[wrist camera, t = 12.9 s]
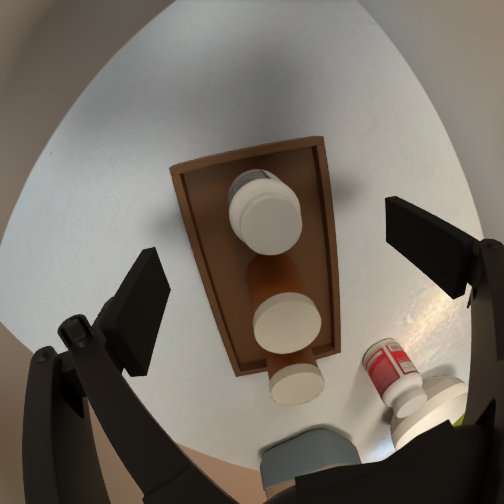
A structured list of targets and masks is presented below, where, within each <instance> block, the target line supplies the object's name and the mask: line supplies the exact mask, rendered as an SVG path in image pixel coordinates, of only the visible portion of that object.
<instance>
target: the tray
mask: <svg viewBox="0 0 504 504" xmlns="http://www.w3.org/2000/svg"><path fill="white" fill-rule="evenodd" d="M169 169H170V173H171V176H172V181H173V184H174V188H175V192H176V195H177V199H178V203H179V206H180V210H181V213H182V217H183V220H184V224H185V227H186V231H187V234H188V237H189V241H190V244H191V247H192V251H193V254H194V257H195V260H196V264H197V267H198V270H199V273H200V276H201V279H202V282H203V286H204V289H205V292H206V295H207V298H208V301H209V304H210V307H211V309H212V312H213V315H214V318H215V321H216V324H217V327H218V330H219V332H220V335H221V338H222V341H223V343H224V346H225V349H226V352H227V354H228V357H229V360H230V362H231V365H232V368H233V370H234V373H235V376H236V377H237V376H243V375H249V374H254V373H259V372H264V371H268V370H267V365H266V359H265V353H264V348H262V347H261V346H260V345H259V344H258V342H257V341H256V338H255V335H254V328H253V313H252V306H251V300H250V293H249V286H248V279H247V270H248V267H249V265H250V263H251V262H252V261H253V259H254V258H256V257H257V256H258V255H260V254H259V253H257V252H255V251H254V250H252V249H251V248H250V247H249V246H248V245H247V244H246V243H245V242H243V241H242V240H241V239H240V238H239V237H238V236H237V235H236V234H235V232H234V231H233V229H232V227H231V224H230V219H229V206H228V193H229V189H230V186H231V184H232V183H233V181H234V180H235V179H236V178H237V177H238V176H239V175H240V174H242V173H244V172H246V171H248V170H253V169H260V170H265V171H268V172H270V173H272V174H274V175H275V176H276V177H278V178H279V179H280V180H281V181H282V182H283V183H284V184H286V185H287V186H288V187H289V188H290V189H291V190H292V191H293V192H294V193H295V195H296V197H297V198H298V201H299V204H300V210H301V218H302V231H301V234H300V237H299V239H298V240H297V242H296V243H295V244H294V245H293V246H292V247H291V248H290V249H289V250H287V251H285V252H283V254H285V255H287V256H288V257H289V258H290V259H291V260H292V262H293V264H294V266H295V268H296V270H297V272H298V274H299V276H300V278H301V280H302V282H303V284H304V286H305V288H306V290H307V292H308V294H309V296H310V298H311V300H312V301H313V303H314V304H315V306H316V308H317V310H318V312H319V314H320V317H321V328H320V331H319V333H318V335H317V337H316V338H315V339H314V340H313V341H312V342H311V343H310V347H311V349H312V352H313V355H314V357H315V360H316V359H319V358H323V357H327V356H330V355H334V354H337V353H340V352H341V324H340V291H339V272H338V256H337V243H336V232H335V221H334V211H333V202H332V194H331V186H330V178H329V171H328V164H327V157H326V151H325V145H324V138H323V136H311V137H304V138H297V139H291V140H285V141H279V142H273V143H267V144H262V145H257V146H252V147H247V148H242V149H237V150H233V151H228V152H224V153H219V154H215V155H211V156H207V157H203V158H199V159H195V160H191V161H187V162H183V163H179V164H176V165H173V166H171V167H169Z"/></svg>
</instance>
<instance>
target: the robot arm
mask: <svg viewBox="0 0 504 504" xmlns="http://www.w3.org/2000/svg"><path fill="white" fill-rule="evenodd" d="M385 206H386V242H387V243H389V244H390V245H391V246H392V247H394V248H395V249H396V250H397V251H398V252H400V253H401V254H402V255H403V256H404V257H406V258H407V259H408V260H409V261H410V262H412V263H413V264H414V265H415V266H416V267H418V268H419V269H420V270H421V271H422V272H423V273H424V274H426V275H427V276H428V277H429V278H430V279H431V280H432V281H433V282H435V283H436V284H437V285H438V286H439V287H440V288H441V289H442V290H443V291H445V292H446V293H447V294H448V295H449V296H450V297H451V298H452V299H456V298H458V297H460V296H462V295H464V294H465V290H466V285H467V283H468V284H470V285H471V286H472V289H471V293H470V297H469V301H468V305H467V308H469V306H470V305H471V329H472V333H471V364H470V377H469V387H468V395H467V403H466V410H465V415H464V419H463V421H462V424H461V425H458V426H452V424H451V422H450V420H449V419H447V420H446V421H444V422H442V423H440V424H439V425H437V426H435V427H433V428H431V429H429V430H427V431H425V432H423V433H421V434H419V435H417V436H416V437H415V438H413V439H412V440H411V441H410V442H408V443H407V444H406V445H404V446H403V447H402V448H400V449H399V450H398V451H396V452H395V453H393V454H392V455H391V456H389V457H388V458H386V459H385V460H382V461H379V462H372V463H365V464H356V465H346V466H336V467H333V468H329V469H325V470H321V471H318V472H313V473H309V474H305V475H300V476H296V477H294V479H295V485H293V486H291V487H289V488H286V489H284V490H283V491H281V492H279V493H277V494H276V495H274V496H273V497H271V498H270V499H268V500H267V501H266V502H265V503H263V504H504V245H503V244H502V243H501V242H499V241H496V240H494V239H483V240H481V241H479V240H477V239H475V238H474V237H472V236H470V235H469V234H467V233H465V232H464V231H462V230H460V229H458V228H457V227H455V226H453V225H451V224H450V223H448V222H446V221H444V220H442V219H440V218H439V217H437V216H435V215H433V214H431V213H429V212H427V211H425V210H423V209H421V208H419V207H417V206H415V205H413V204H411V203H409V202H407V201H405V200H403V199H401V198H399V197H397V196H393V197H387V198H385ZM170 291H171V289H170V286H169V284H168V281H167V278H166V276H165V273H164V270H163V268H162V265H161V262H160V259H159V257H158V254H157V251H156V248H155V247H152V248H148V249H144V250H142V252H141V253H140V255H139V256H138V258H137V259H136V261H135V263H134V264H133V266H132V267H131V269H130V271H129V272H128V274H127V275H126V277H125V279H124V280H123V282H122V284H121V285H120V287H119V289H118V291H117V292H116V294H115V296H114V297H111V298H110V299H109V300H108V301H107V302H106V303H105V304H104V306H103V307H102V309H101V312H99V314H98V317H97V318H96V319H95V321H94V323H93V325H92V327H91V326H90V324H89V322H88V320H87V319H86V317H85V316H84V315H82V314H78V315H74V316H72V317H70V318H68V319H66V320H65V321H64V322H63V323H62V324H61V325H60V326H59V328H58V335H59V336H60V338H61V339H62V341H63V342H64V344H65V345H66V347H67V348H68V350H69V351H66V352H63V353H60V354H57V352H56V351H55V350H54V348H53V347H52V346H46V347H43V348H41V349H39V350H37V351H36V352H35V354H34V356H33V357H32V359H31V363H30V368H29V374H28V381H27V388H26V396H25V406H24V418H23V439H22V461H23V481H24V493H25V501H26V504H111V503H110V500H109V497H108V493H107V490H106V487H105V483H104V480H103V476H102V472H101V468H100V464H99V460H98V456H97V451H96V447H95V442H94V436H93V431H92V425H91V419H90V413H89V406H88V400H89V402H90V404H91V406H92V408H93V410H94V412H95V414H96V416H97V418H98V420H99V422H100V424H101V426H102V428H103V430H104V432H105V433H106V435H107V437H108V439H109V441H110V442H111V444H112V446H113V447H114V449H115V451H116V453H117V454H118V456H119V458H120V459H121V461H122V462H123V464H124V466H125V467H126V469H127V470H128V471H129V473H130V474H131V476H132V478H133V479H134V480H135V482H136V483H137V485H138V486H139V487H140V489H141V490H142V492H143V493H144V498H143V499H142V500H143V503H144V504H239V503H238V502H237V501H236V500H235V499H233V498H232V497H231V496H230V495H228V494H227V493H226V492H225V491H224V490H223V489H221V488H220V487H219V486H218V485H217V484H216V483H215V482H214V481H213V480H212V479H210V478H209V477H208V476H207V475H206V474H205V473H204V472H203V471H202V470H201V469H200V468H199V467H198V466H197V465H196V464H195V463H194V462H193V461H192V460H191V459H190V458H189V457H188V456H187V455H186V454H185V453H184V452H183V451H182V450H181V448H180V447H179V446H178V445H177V444H176V443H175V442H174V441H173V440H172V439H171V437H170V436H169V435H168V434H167V433H166V432H165V431H164V429H163V428H162V427H161V426H160V425H159V423H158V422H157V421H156V420H155V419H154V417H153V416H152V415H151V414H150V412H149V411H148V410H147V409H146V407H145V406H144V405H143V403H142V402H141V401H140V399H139V398H138V397H137V395H136V394H135V393H134V391H133V390H132V389H131V387H130V386H129V384H128V383H127V381H126V380H125V379H124V377H123V376H122V372H123V369H124V368H125V369H126V371H127V372H128V374H129V375H130V377H136V376H147V373H148V369H149V365H150V361H151V357H152V353H153V349H154V346H155V342H156V338H157V335H158V331H159V328H160V324H161V321H162V317H163V314H164V310H165V307H166V304H167V300H168V297H169V294H170Z"/></svg>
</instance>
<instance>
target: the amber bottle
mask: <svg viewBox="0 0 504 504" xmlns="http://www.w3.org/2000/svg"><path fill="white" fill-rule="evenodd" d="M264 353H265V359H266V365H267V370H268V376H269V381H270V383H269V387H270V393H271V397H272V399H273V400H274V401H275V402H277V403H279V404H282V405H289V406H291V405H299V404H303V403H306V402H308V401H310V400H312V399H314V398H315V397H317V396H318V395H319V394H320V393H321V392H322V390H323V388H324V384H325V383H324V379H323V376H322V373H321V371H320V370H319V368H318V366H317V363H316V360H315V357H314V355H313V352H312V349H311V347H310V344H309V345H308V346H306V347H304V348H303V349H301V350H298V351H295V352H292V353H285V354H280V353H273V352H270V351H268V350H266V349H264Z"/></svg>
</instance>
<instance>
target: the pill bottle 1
mask: <svg viewBox="0 0 504 504" xmlns="http://www.w3.org/2000/svg"><path fill="white" fill-rule="evenodd" d="M228 206H229V219H230V224H231V227H232V229H233V231H234V232H235V234H236V235H237V236H238V237H239V238H240V239H241V240H242V241H243V242H245V243H246V244H247V245H248V246H249V247H250V248H251V249H252V250H254V251H255V252H257V253H259V254H263V255H277V254H281V253H283V252H285V251H287V250H289V249H290V248H291V247H292V246H293V245H294V244H295V243H296V242H297V240H298V239H299V237H300V234H301V231H302V218H301V210H300V204H299V201H298V198H297V197H296V195H295V193H294V192H293V191H292V190H291V189H290V188H289V187H288V186H287V185H286V184H284V183H283V182H282V181H281V180H280V179H279V178H278V177H276V176H275V175H274V174H272V173H270V172H268V171H265V170H260V169H253V170H248V171H246V172H244V173H242V174H240V175H239V176H238V177H237V178H236V179H235V180H234V181H233V183H232V184H231V186H230V189H229V193H228Z"/></svg>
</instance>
